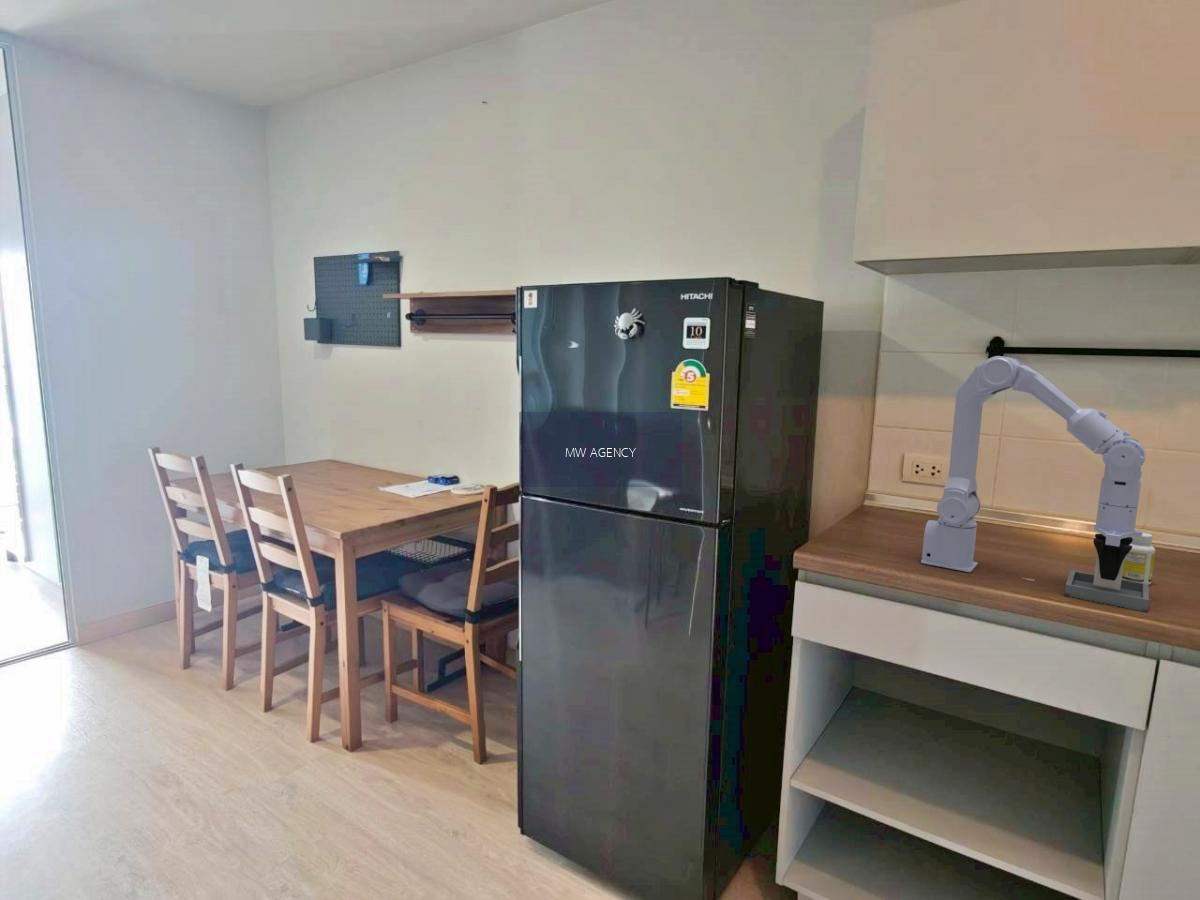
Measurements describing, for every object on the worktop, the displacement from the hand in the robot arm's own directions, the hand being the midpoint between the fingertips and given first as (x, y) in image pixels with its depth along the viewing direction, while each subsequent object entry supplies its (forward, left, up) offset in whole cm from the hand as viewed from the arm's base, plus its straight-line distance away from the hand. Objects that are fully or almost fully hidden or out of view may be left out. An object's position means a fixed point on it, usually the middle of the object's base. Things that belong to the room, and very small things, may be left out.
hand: (1108, 576), depth 125 cm
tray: (0, 0, -4) cm, 4 cm away
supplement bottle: (+4, +15, -4) cm, 16 cm away
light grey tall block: (0, 0, -2) cm, 2 cm away
